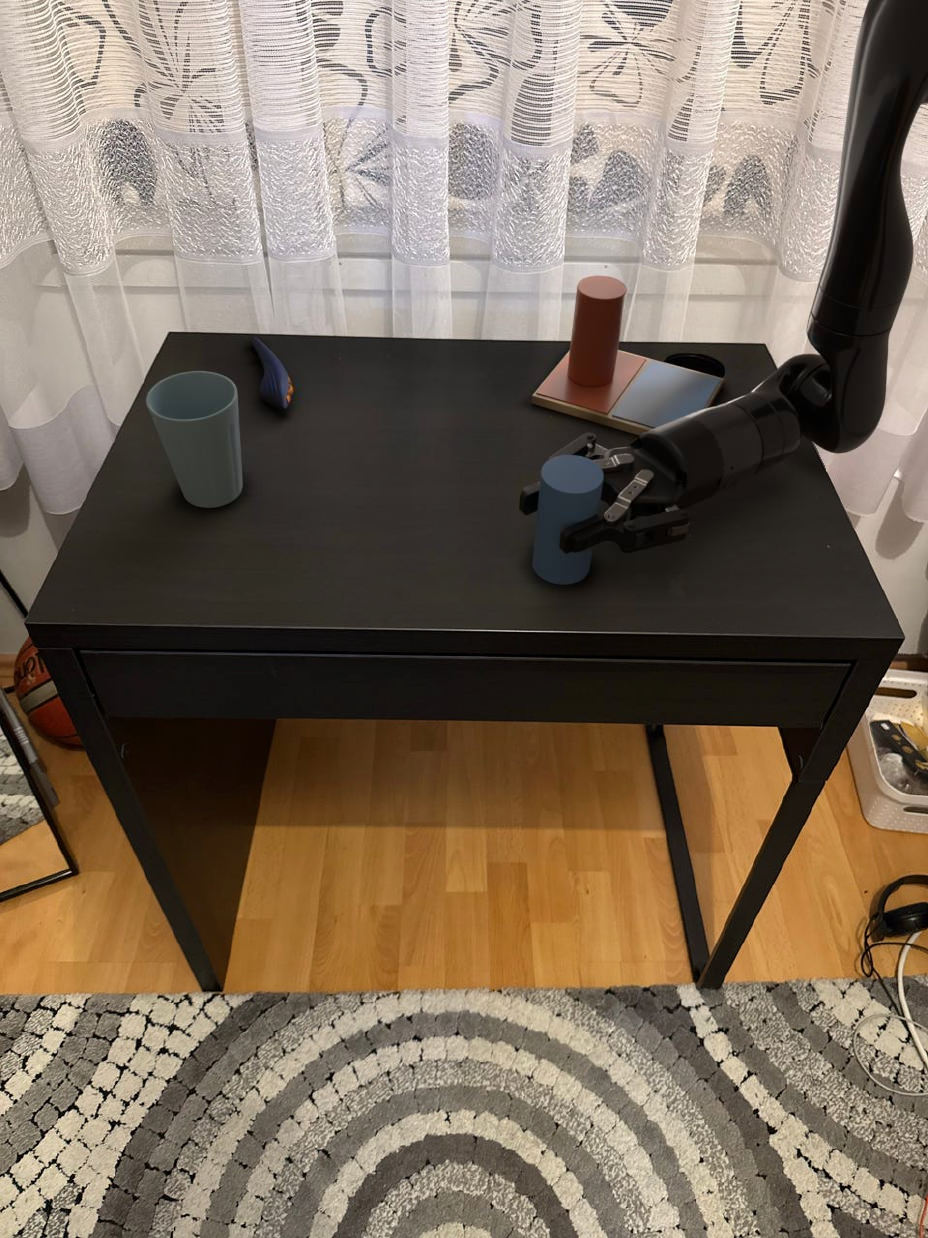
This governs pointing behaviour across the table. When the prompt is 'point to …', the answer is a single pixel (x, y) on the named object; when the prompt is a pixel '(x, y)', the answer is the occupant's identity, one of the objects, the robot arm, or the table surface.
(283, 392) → the tapered navy handle
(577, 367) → the rust canister
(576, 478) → the blue canister
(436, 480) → the table surface
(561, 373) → the board
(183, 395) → the cup
